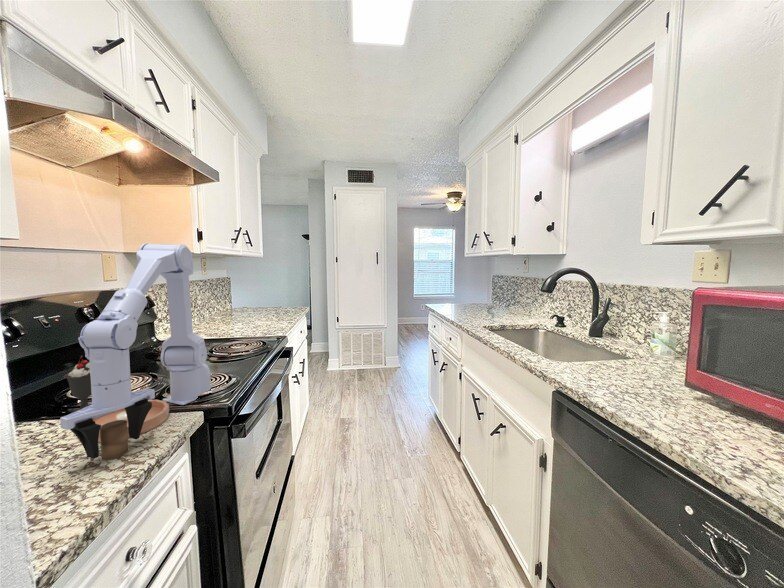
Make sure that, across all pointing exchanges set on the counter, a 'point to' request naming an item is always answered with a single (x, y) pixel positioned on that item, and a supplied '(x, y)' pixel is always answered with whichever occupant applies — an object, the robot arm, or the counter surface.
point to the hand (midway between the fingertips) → (114, 446)
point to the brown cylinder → (114, 439)
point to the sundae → (80, 382)
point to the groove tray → (151, 421)
